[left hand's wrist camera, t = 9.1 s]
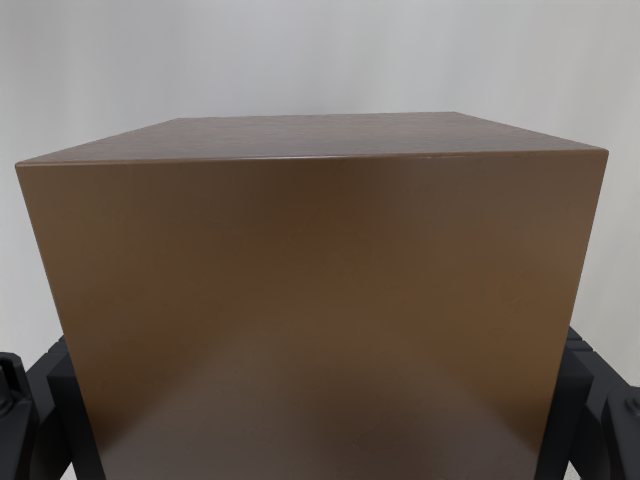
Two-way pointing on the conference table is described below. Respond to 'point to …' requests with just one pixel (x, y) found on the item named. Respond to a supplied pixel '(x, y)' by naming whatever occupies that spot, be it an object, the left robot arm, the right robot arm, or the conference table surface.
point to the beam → (316, 292)
